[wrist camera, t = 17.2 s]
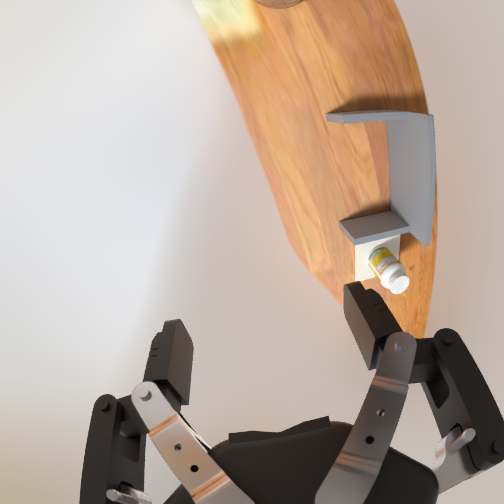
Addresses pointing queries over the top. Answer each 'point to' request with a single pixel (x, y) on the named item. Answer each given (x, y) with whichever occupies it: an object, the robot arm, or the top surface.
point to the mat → (363, 251)
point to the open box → (400, 177)
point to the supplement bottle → (388, 269)
